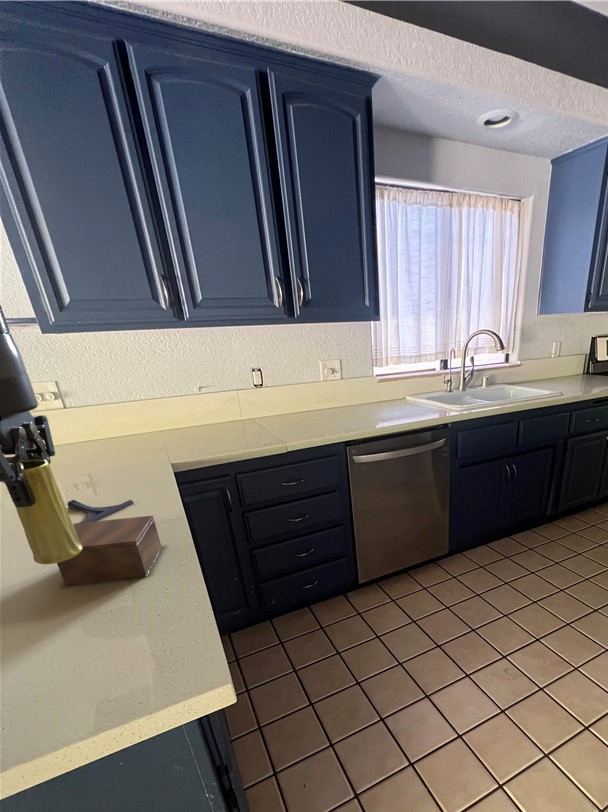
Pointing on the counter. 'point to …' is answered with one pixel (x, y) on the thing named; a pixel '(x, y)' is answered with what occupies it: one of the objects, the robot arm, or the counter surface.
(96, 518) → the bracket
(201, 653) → the counter surface
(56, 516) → the vase
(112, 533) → the lid
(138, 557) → the chest
